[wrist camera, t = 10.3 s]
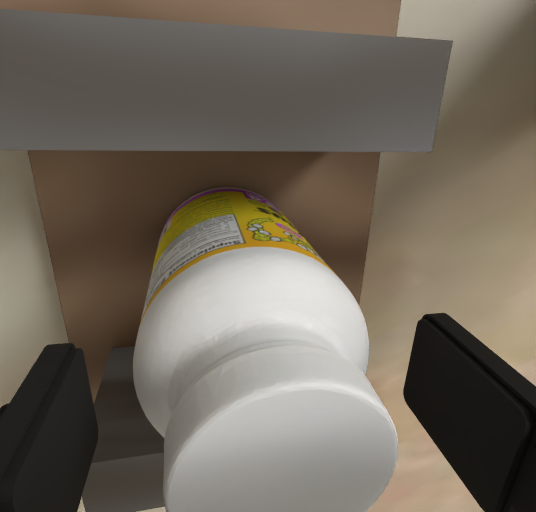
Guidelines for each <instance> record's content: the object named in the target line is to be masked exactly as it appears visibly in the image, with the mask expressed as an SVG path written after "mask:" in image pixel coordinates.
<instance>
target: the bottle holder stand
mask: <svg viewBox="0 0 536 512" xmlns="http://www.w3.org/2000/svg"><path fill="white" fill-rule="evenodd" d="M400 5H401V0H0V150H28V154H29V159H30V164H31V168H32V173H33V178H34V182H35V187H36V191H37V196H38V201H39V205H40V210H41V215H42V219H43V224H44V229H45V233H46V238H47V243H48V247H49V252H50V257H51V261H52V266H53V271H54V275H55V280H56V285H57V289H58V294H59V299H60V303H61V308H62V312H63V317H64V322H65V326H66V331H67V336H68V340H69V343H73V344H74V345H75V348H82V350H83V353H84V358H85V363H86V368H87V373H88V378H89V383H90V388H91V393H92V399H93V404H94V409H95V414H96V419H97V424H98V441H97V445H96V449H95V452H94V456H93V459H92V462H91V466H90V469H89V473H88V476H87V480H86V483H85V486H84V490H83V493H82V499H83V503H84V507H85V511H86V512H136V511H142V510H147V509H153V508H159V507H164V506H165V504H164V498H163V474H164V437H163V436H162V435H161V434H160V433H159V432H158V431H157V430H156V429H155V428H154V427H153V426H152V424H151V423H150V421H149V420H148V418H147V417H146V415H145V413H144V411H143V409H142V407H141V405H140V402H139V400H138V397H137V394H136V390H135V386H134V379H133V356H134V349H135V344H136V339H137V334H138V330H139V326H140V322H141V317H142V313H143V309H144V305H145V301H146V296H147V292H148V288H149V283H150V279H151V274H152V269H153V264H154V260H155V255H156V252H157V247H158V243H159V239H160V236H161V233H162V231H163V228H164V226H165V224H166V222H167V220H168V219H169V217H170V216H171V214H172V213H173V212H174V211H175V210H176V209H177V208H178V207H179V206H180V205H181V204H182V203H183V202H185V201H186V200H188V199H189V198H191V197H192V196H194V195H196V194H198V193H200V192H203V191H206V190H209V189H213V188H220V187H235V188H242V189H246V190H249V191H252V192H255V193H257V194H259V195H261V196H263V197H264V198H266V199H267V200H269V201H270V202H271V203H272V204H273V205H275V206H276V207H277V208H278V209H279V210H280V211H281V212H282V213H283V215H284V216H285V217H286V218H287V219H288V220H289V221H290V222H291V223H292V225H293V226H294V227H295V228H296V229H297V230H298V232H299V233H300V234H301V235H302V236H303V237H304V238H305V239H306V241H307V242H308V243H309V244H310V245H311V246H312V248H313V249H314V250H315V251H316V252H317V254H318V255H319V256H320V257H321V258H322V259H323V260H324V262H325V263H326V264H327V265H328V266H329V267H330V268H331V269H332V270H333V271H334V273H335V274H336V275H337V276H338V277H339V278H340V279H341V281H342V282H343V283H344V284H345V286H346V287H347V288H348V289H349V290H350V292H351V293H352V295H353V296H354V298H355V300H356V301H357V303H358V305H359V302H360V295H361V288H362V280H363V273H364V266H365V259H366V251H367V244H368V237H369V230H370V222H371V215H372V208H373V201H374V194H375V186H376V179H377V172H378V165H379V157H380V152H432V148H433V143H434V137H435V132H436V127H437V121H438V116H439V111H440V106H441V100H442V95H443V90H444V85H445V79H446V74H447V69H448V63H449V58H450V53H451V48H452V42H453V41H448V40H434V39H420V38H405V37H396V34H397V27H398V20H399V13H400Z"/></svg>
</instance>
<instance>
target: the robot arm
mask: <svg viewBox="0 0 536 512" xmlns="http://www.w3.org/2000/svg"><path fill="white" fill-rule="evenodd" d="M403 394H404V399H405V401H406V403H407V405H408V406H409V408H410V409H411V410H412V412H413V413H414V415H415V416H416V417H417V419H418V420H419V422H420V423H421V424H422V426H423V427H424V429H425V430H426V431H427V433H428V434H429V436H430V437H431V438H432V440H433V441H434V443H435V444H436V445H437V447H438V448H439V450H440V451H441V452H442V454H443V455H444V457H445V458H446V459H447V461H448V462H449V464H450V465H451V466H452V468H453V469H454V471H455V472H456V473H457V475H458V476H459V478H460V479H461V480H462V482H463V483H464V485H465V486H466V487H467V489H468V490H469V492H470V493H471V494H472V496H473V497H474V499H475V500H476V501H477V503H478V504H479V506H480V507H481V508H482V509H483V510H484V511H485V512H536V386H534V385H533V384H532V383H531V382H529V381H528V380H527V379H526V378H525V377H523V376H522V375H521V374H520V373H518V372H517V371H516V370H515V369H514V368H512V367H511V366H510V365H509V364H507V363H506V362H505V361H504V360H503V359H501V358H500V357H499V356H498V355H496V354H495V353H494V352H493V351H492V350H490V349H489V348H488V347H487V346H485V345H484V344H483V343H482V342H481V341H479V340H478V339H477V338H476V337H474V336H473V335H472V334H471V333H470V332H468V331H467V330H466V329H465V328H463V327H462V326H461V325H460V324H459V323H457V322H456V321H455V320H454V319H452V318H451V317H450V316H449V315H447V314H446V313H436V314H426V315H424V316H423V317H422V320H419V321H418V323H417V327H416V332H415V337H414V342H413V347H412V351H411V356H410V361H409V366H408V371H407V376H406V381H405V385H404V391H403ZM97 441H98V424H97V419H96V414H95V409H94V404H93V399H92V393H91V388H90V383H89V378H88V373H87V368H86V363H85V358H84V353H83V350H82V348H75V345H74V344H73V343H64V344H52V345H47V346H46V347H45V348H44V349H43V351H42V353H41V354H40V356H39V357H38V359H37V361H36V362H35V364H34V365H33V367H32V369H31V370H30V372H29V373H28V375H27V376H26V378H25V380H24V381H23V383H22V384H21V386H20V388H19V389H18V391H17V392H16V394H15V396H14V397H13V399H12V400H11V402H10V403H9V404H5V405H4V406H2V407H1V408H0V512H77V510H78V507H79V503H80V500H81V497H82V493H83V490H84V486H85V483H86V480H87V476H88V473H89V469H90V466H91V462H92V459H93V456H94V452H95V449H96V445H97Z"/></svg>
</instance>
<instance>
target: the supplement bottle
mask: <svg viewBox="0 0 536 512" xmlns="http://www.w3.org/2000/svg"><path fill="white" fill-rule="evenodd" d="M368 358H369V338H368V331H367V326H366V323H365V319H364V316H363V314H362V311H361V309H360V307H359V305H358V303H357V301H356V300H355V298H354V296H353V295H352V293H351V292H350V290H349V289H348V288H347V287H346V286H345V284H344V283H343V282H342V281H341V279H340V278H339V277H338V276H337V275H336V274H335V273H334V271H333V270H332V269H331V268H330V267H329V266H328V265H327V264H326V263H325V262H324V260H323V259H322V258H321V257H320V256H319V255H318V254H317V252H316V251H315V250H314V249H313V248H312V246H311V245H310V244H309V243H308V242H307V241H306V239H305V238H304V237H303V236H302V235H301V234H300V233H299V232H298V230H297V229H296V228H295V227H294V226H293V225H292V223H291V222H290V221H289V220H288V219H287V218H286V217H285V216H284V215H283V213H282V212H281V211H280V210H279V209H278V208H277V207H276V206H275V205H273V204H272V203H271V202H270V201H269V200H267V199H266V198H264V197H263V196H261V195H259V194H257V193H255V192H252V191H249V190H246V189H242V188H235V187H220V188H213V189H209V190H206V191H203V192H200V193H198V194H196V195H194V196H192V197H191V198H189V199H188V200H186V201H185V202H183V203H182V204H181V205H180V206H179V207H178V208H177V209H176V210H175V211H174V212H173V213H172V214H171V216H170V217H169V219H168V220H167V222H166V224H165V226H164V228H163V231H162V233H161V236H160V239H159V243H158V247H157V252H156V255H155V260H154V264H153V269H152V274H151V279H150V283H149V288H148V292H147V296H146V301H145V305H144V309H143V313H142V317H141V322H140V326H139V330H138V334H137V339H136V344H135V349H134V356H133V379H134V386H135V390H136V394H137V397H138V400H139V402H140V405H141V407H142V409H143V411H144V413H145V415H146V417H147V418H148V420H149V421H150V423H151V424H152V426H153V427H154V428H155V429H156V430H157V431H158V432H159V433H160V434H161V435H162V436H163V437H164V474H163V498H164V504H165V508H166V511H167V512H366V511H367V510H368V509H369V508H370V507H371V506H372V505H373V504H374V503H375V501H376V500H377V499H378V498H379V496H380V495H381V494H382V493H383V491H384V489H385V488H386V486H387V485H388V483H389V481H390V479H391V477H392V474H393V472H394V469H395V466H396V461H397V455H398V437H397V432H396V428H395V425H394V423H393V421H392V419H391V417H390V415H389V413H388V411H387V410H386V408H385V407H384V405H383V403H382V402H381V400H380V399H379V397H378V395H377V394H376V392H375V391H374V389H373V387H372V385H371V384H370V382H369V380H368V379H367V377H366V376H365V375H366V371H367V367H368Z"/></svg>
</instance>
